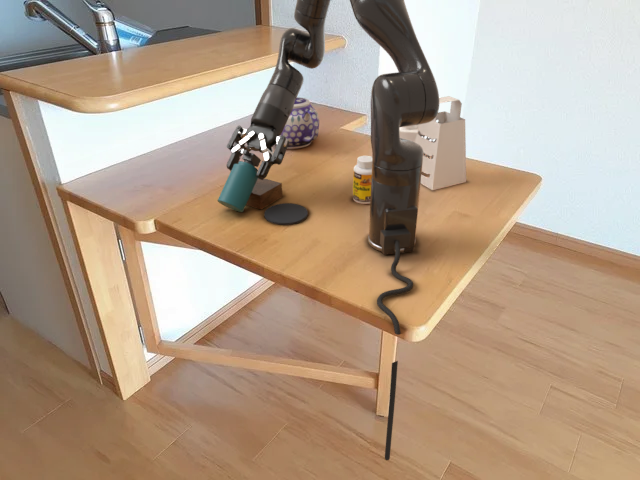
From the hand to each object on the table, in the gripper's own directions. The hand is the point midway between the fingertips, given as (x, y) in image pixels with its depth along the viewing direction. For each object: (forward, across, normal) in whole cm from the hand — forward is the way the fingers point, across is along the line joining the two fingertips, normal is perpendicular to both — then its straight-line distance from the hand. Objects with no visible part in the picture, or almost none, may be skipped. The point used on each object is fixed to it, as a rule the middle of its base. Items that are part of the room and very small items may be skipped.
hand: (244, 174), depth 117 cm
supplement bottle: (-6, +21, +18) cm, 28 cm away
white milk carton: (-30, +16, +42) cm, 54 cm away
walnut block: (+3, 0, +8) cm, 9 cm away
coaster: (+5, +10, +6) cm, 13 cm away
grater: (-21, +30, +32) cm, 49 cm away
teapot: (-22, -16, +34) cm, 43 cm away
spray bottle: (+7, 0, +4) cm, 8 cm away
